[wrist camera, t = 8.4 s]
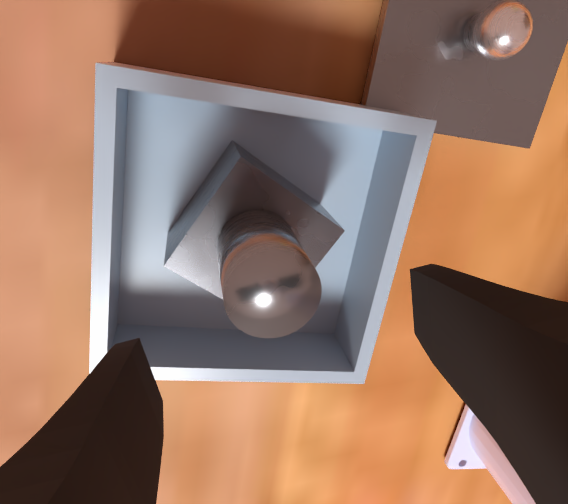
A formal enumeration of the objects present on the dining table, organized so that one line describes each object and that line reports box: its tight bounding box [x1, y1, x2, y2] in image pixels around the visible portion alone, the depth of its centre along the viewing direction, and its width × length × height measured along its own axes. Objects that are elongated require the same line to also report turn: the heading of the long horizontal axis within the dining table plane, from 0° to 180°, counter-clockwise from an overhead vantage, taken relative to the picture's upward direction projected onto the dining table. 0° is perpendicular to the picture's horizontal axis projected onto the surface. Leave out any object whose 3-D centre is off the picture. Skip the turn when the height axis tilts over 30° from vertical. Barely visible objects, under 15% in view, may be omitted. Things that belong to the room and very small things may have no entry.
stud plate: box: [361, 0, 568, 148], centre depth 17 cm, size 8×8×3 cm
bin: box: [89, 62, 437, 384], centre depth 18 cm, size 11×11×4 cm
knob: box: [164, 140, 345, 338], centre depth 16 cm, size 5×5×7 cm
